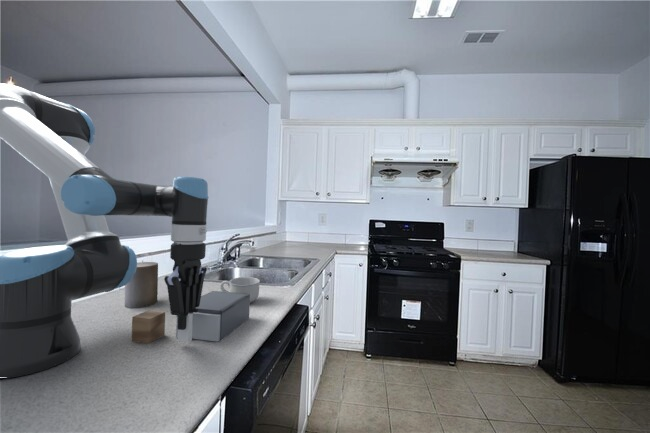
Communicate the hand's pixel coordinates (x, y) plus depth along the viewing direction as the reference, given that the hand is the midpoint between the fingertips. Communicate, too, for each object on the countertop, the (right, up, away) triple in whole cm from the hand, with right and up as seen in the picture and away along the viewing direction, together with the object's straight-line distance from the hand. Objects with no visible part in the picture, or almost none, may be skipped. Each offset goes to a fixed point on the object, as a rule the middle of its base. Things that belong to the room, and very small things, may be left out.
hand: (184, 340), depth 66 cm
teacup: (+2, -2, +36) cm, 36 cm away
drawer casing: (+3, -2, +13) cm, 13 cm away
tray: (+2, -1, +10) cm, 10 cm away
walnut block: (-11, -1, +4) cm, 12 cm away
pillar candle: (-30, -1, +30) cm, 43 cm away
